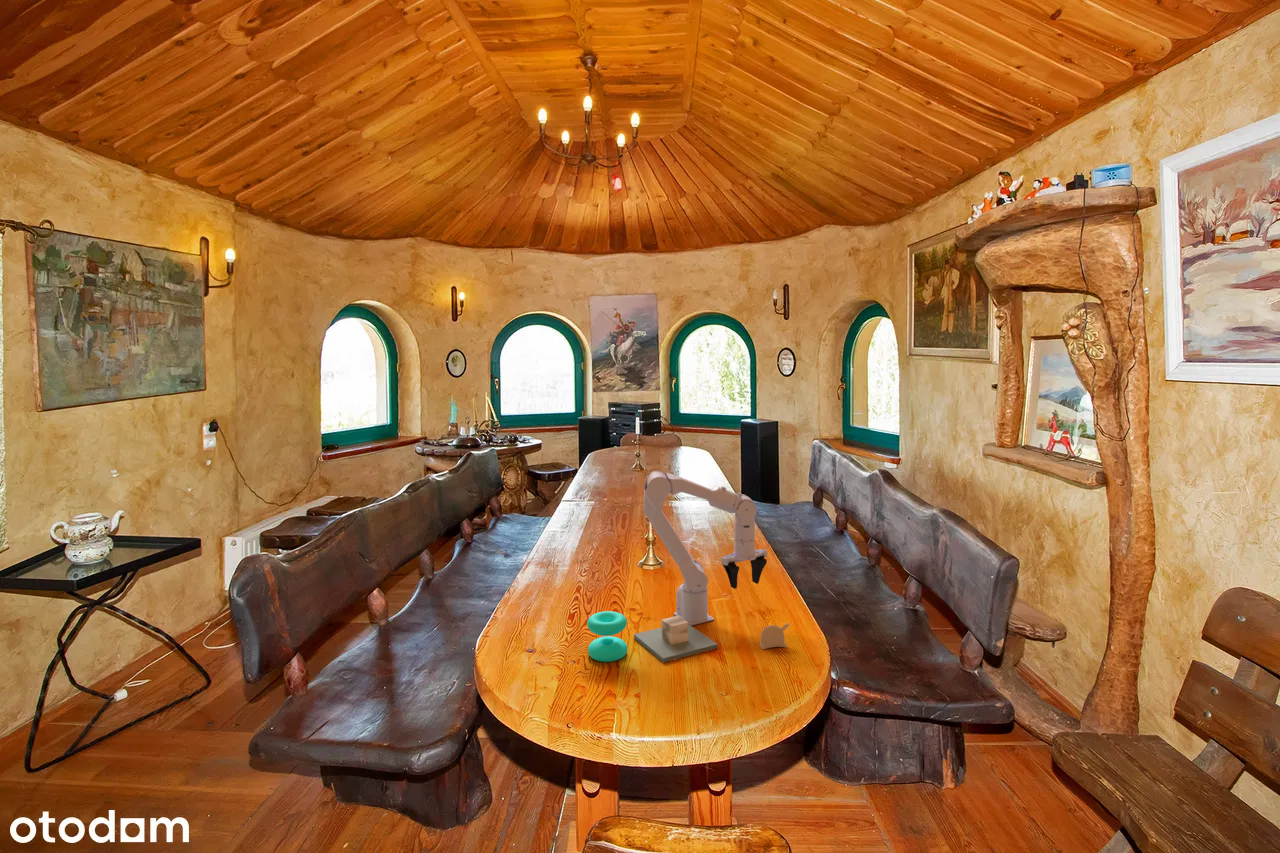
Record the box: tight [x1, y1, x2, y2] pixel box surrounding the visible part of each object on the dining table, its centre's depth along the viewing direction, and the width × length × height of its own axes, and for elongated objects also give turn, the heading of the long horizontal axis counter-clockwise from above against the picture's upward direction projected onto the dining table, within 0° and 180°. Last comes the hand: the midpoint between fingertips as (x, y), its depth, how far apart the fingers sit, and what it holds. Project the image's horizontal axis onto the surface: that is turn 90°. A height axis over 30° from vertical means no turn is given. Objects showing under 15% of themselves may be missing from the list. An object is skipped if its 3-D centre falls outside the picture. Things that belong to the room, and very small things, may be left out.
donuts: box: [586, 610, 628, 663], centre depth 171 cm, size 10×10×10 cm
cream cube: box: [661, 615, 688, 645], centre depth 176 cm, size 5×5×5 cm
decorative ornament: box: [759, 622, 790, 650], centre depth 174 cm, size 4×8×5 cm, turn 97°
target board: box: [633, 624, 719, 664], centre depth 177 cm, size 16×16×1 cm
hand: (744, 585), depth 192 cm, fingers open, 7 cm apart
